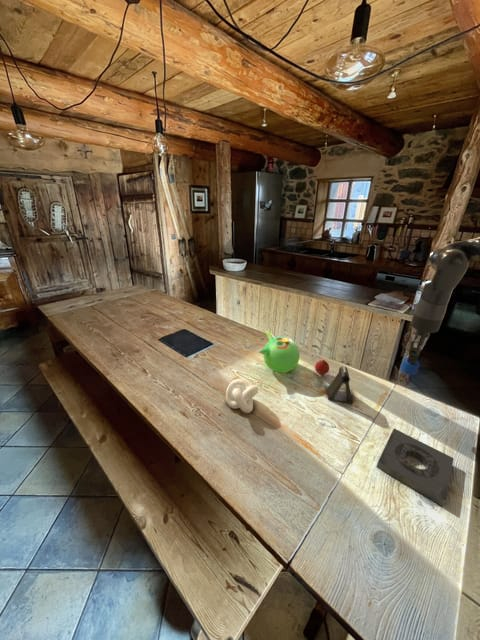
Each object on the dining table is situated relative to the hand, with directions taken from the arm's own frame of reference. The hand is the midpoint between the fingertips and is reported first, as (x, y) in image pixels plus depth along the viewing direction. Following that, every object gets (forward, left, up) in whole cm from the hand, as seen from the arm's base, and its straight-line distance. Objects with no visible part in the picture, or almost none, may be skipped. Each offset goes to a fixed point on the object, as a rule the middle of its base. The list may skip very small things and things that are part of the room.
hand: (411, 361), depth 89 cm
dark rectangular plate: (+9, +22, -21) cm, 32 cm away
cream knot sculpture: (+57, -7, -21) cm, 61 cm away
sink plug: (0, 0, -4) cm, 4 cm away
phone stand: (+18, -8, -21) cm, 29 cm away
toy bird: (+37, -29, -21) cm, 52 cm away
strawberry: (+20, -22, -21) cm, 37 cm away
